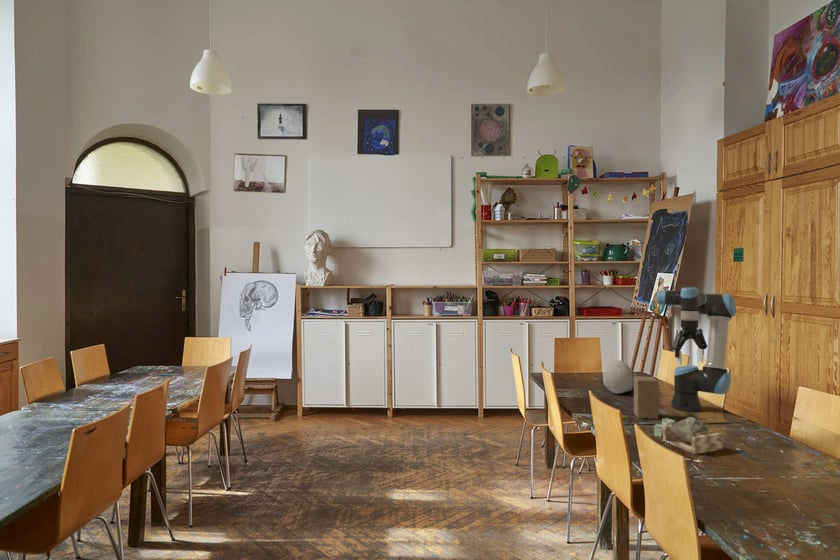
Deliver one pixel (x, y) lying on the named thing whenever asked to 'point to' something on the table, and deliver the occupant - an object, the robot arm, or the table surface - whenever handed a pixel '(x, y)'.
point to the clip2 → (658, 430)
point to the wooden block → (646, 397)
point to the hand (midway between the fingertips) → (689, 363)
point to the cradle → (695, 441)
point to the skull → (618, 377)
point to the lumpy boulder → (689, 429)
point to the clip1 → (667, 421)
